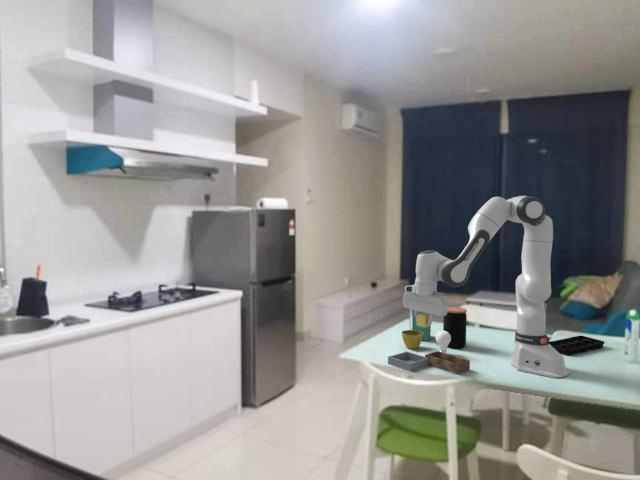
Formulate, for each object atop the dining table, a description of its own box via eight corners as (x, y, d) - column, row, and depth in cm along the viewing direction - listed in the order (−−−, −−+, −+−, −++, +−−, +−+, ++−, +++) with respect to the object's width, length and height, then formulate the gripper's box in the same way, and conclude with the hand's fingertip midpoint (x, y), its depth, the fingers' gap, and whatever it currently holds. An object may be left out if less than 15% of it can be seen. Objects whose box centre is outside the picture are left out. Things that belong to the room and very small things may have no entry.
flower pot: (417, 352, 218) (417, 336, 218) (397, 348, 224) (397, 333, 224) (426, 347, 226) (426, 332, 226) (407, 343, 232) (407, 328, 232)
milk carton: (430, 340, 238) (431, 290, 237) (412, 339, 238) (413, 290, 237) (426, 335, 247) (427, 287, 246) (409, 335, 248) (410, 287, 246)
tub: (428, 366, 198) (429, 358, 198) (410, 372, 190) (410, 363, 190) (406, 359, 207) (406, 351, 207) (387, 364, 200) (388, 356, 199)
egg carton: (606, 347, 229) (607, 340, 229) (581, 360, 209) (582, 352, 209) (568, 340, 242) (569, 332, 242) (541, 351, 223) (542, 343, 223)
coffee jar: (463, 343, 233) (464, 307, 232) (467, 349, 222) (469, 311, 221) (441, 342, 234) (442, 306, 233) (444, 348, 223) (445, 311, 222)
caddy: (469, 371, 193) (469, 360, 192) (457, 375, 187) (457, 364, 187) (436, 361, 205) (437, 351, 205) (424, 365, 200) (425, 354, 199)
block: (430, 326, 196) (431, 315, 196) (424, 327, 193) (425, 316, 193) (422, 323, 199) (423, 313, 199) (416, 325, 197) (417, 314, 196)
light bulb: (440, 351, 219) (440, 328, 218) (453, 354, 214) (453, 330, 213) (432, 354, 214) (433, 330, 214) (445, 358, 210) (446, 333, 209)
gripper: (451, 293, 189) (449, 327, 190) (411, 285, 205) (409, 316, 206) (442, 294, 185) (440, 329, 186) (401, 286, 201) (399, 318, 202)
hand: (423, 322), depth 196 cm, fingers closed on block, 4 cm apart
